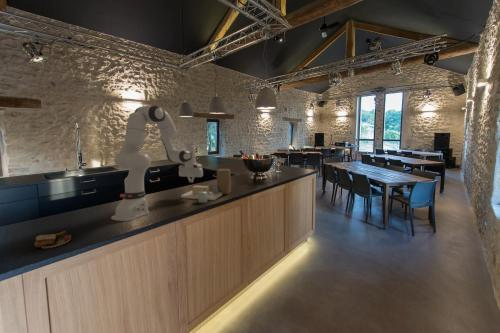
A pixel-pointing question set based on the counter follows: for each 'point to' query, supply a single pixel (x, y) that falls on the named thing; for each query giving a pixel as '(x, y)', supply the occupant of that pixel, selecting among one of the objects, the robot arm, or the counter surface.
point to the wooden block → (224, 180)
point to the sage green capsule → (202, 196)
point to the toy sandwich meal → (51, 240)
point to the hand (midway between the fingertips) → (191, 182)
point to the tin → (215, 190)
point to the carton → (199, 189)
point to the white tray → (193, 196)
